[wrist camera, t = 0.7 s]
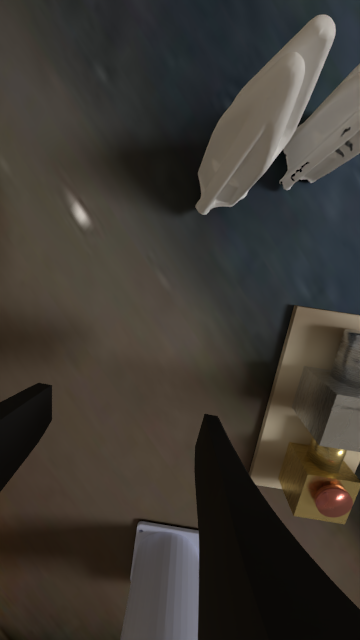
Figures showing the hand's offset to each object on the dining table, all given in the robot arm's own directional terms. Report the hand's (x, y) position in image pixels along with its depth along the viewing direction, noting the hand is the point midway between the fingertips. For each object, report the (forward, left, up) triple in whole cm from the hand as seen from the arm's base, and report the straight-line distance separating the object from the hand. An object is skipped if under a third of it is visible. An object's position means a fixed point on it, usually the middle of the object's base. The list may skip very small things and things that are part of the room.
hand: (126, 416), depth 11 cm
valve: (-9, -16, -10) cm, 21 cm away
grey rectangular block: (0, -16, -10) cm, 19 cm away
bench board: (-4, -16, -11) cm, 20 cm away
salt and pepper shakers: (+15, -6, -11) cm, 20 cm away
